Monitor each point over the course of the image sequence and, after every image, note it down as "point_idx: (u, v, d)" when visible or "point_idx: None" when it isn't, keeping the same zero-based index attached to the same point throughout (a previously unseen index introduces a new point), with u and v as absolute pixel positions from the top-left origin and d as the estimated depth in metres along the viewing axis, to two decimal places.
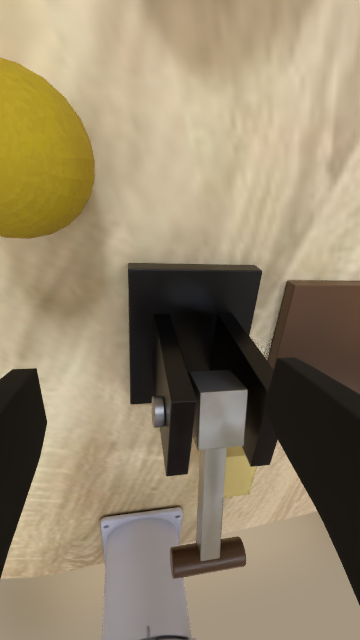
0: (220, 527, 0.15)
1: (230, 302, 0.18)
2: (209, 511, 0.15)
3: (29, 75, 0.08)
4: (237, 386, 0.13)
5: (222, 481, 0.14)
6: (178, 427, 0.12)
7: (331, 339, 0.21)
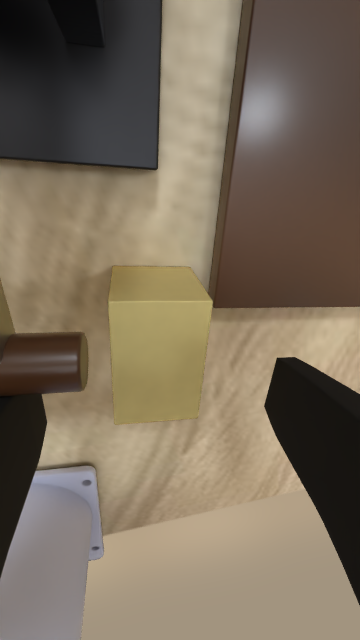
0: None
1: None
2: None
3: None
4: None
5: None
6: None
7: None
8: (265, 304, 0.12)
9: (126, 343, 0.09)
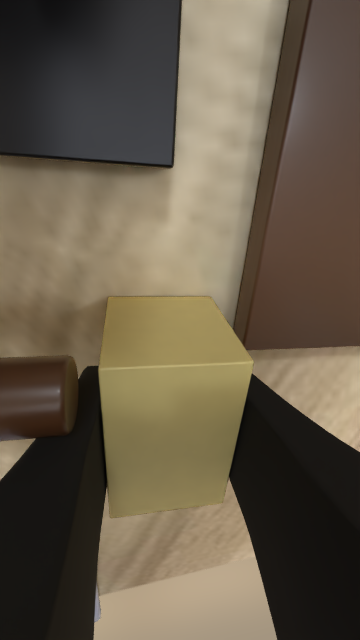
0: None
1: None
2: None
3: None
4: None
5: None
6: None
7: None
8: (309, 344, 0.09)
9: (126, 421, 0.06)
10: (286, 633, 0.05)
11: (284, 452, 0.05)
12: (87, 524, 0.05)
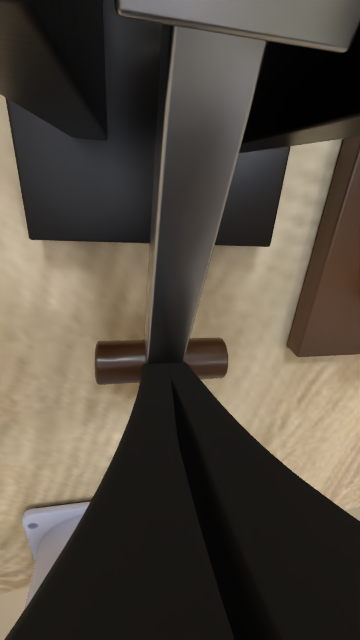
0: (190, 326, 0.07)
1: None
2: (168, 295, 0.06)
3: None
4: None
5: (212, 228, 0.05)
6: None
7: None
8: (343, 352, 0.13)
9: None
10: None
11: (203, 461, 0.05)
12: None
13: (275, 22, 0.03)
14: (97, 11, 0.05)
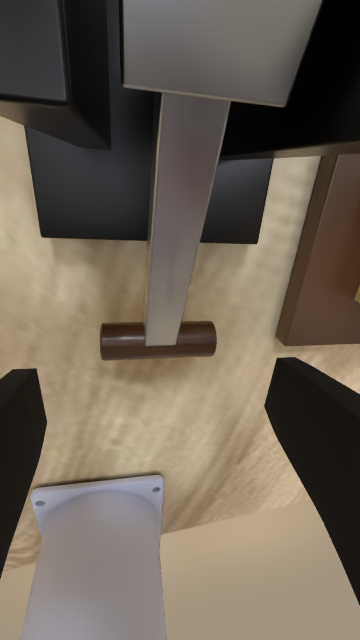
0: (181, 309, 0.08)
1: None
2: (163, 282, 0.07)
3: None
4: None
5: (197, 227, 0.06)
6: None
7: None
8: (327, 342, 0.15)
9: None
10: None
11: None
12: None
13: (231, 90, 0.04)
14: (103, 46, 0.06)
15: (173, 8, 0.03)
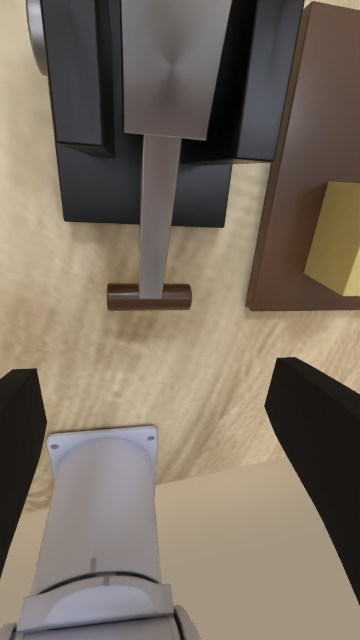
0: (163, 267, 0.12)
1: None
2: (149, 246, 0.11)
3: None
4: None
5: (169, 207, 0.10)
6: None
7: None
8: (285, 308, 0.18)
9: None
10: None
11: None
12: None
13: (177, 133, 0.07)
14: (111, 95, 0.10)
15: (146, 100, 0.07)
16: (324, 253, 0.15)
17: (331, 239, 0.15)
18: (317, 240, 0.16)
